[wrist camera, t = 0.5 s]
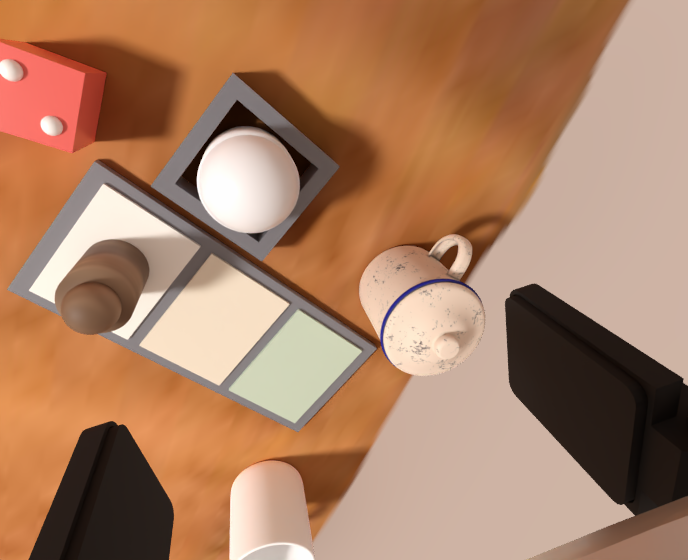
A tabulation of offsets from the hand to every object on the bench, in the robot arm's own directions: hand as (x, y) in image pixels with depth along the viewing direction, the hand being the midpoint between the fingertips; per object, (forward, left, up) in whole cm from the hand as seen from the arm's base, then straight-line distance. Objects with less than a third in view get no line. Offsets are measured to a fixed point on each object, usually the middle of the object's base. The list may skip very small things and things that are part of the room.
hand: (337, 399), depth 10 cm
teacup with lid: (0, +17, -29) cm, 34 cm away
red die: (+5, -14, -29) cm, 33 cm away
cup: (+31, +23, -29) cm, 49 cm away
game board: (+14, +5, -29) cm, 33 cm away
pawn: (+14, -4, -28) cm, 32 cm away
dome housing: (+1, -1, -29) cm, 29 cm away
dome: (+1, -1, -27) cm, 27 cm away
